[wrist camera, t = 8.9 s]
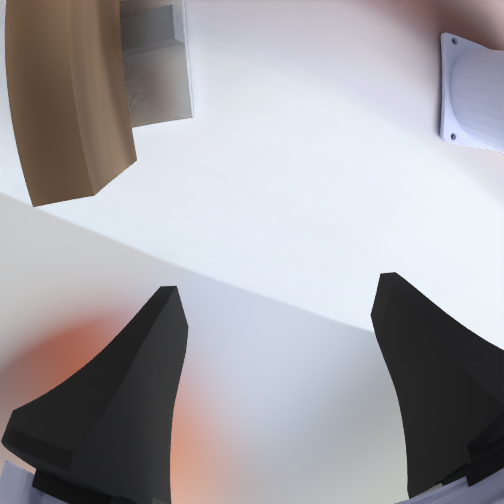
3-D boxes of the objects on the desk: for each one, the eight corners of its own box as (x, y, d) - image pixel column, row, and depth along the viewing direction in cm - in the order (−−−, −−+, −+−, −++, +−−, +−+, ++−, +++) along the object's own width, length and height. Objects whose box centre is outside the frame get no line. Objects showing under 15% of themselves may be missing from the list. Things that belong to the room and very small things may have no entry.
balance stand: (181, -42, 10) (170, -61, 8) (194, 116, 16) (183, 123, 13) (55, 1, 10) (30, -4, 8) (68, 142, 16) (44, 154, 14)
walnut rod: (120, -63, 7) (79, -96, 3) (137, 160, 14) (94, 195, 10) (66, -41, 7) (16, -60, 3) (83, 170, 14) (33, 207, 10)
